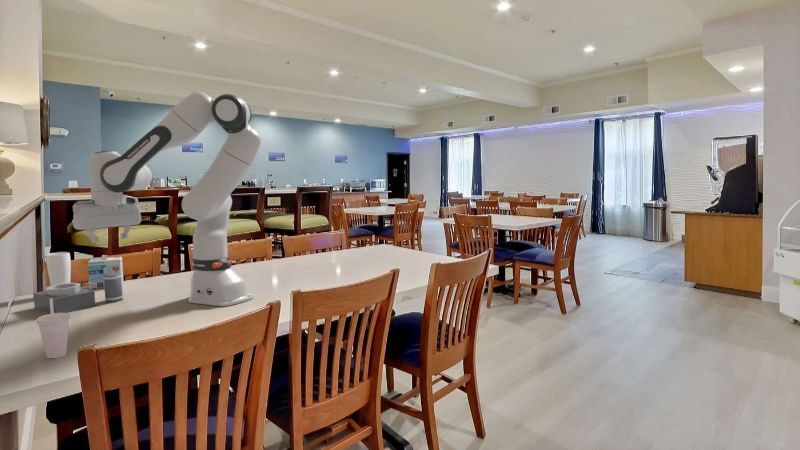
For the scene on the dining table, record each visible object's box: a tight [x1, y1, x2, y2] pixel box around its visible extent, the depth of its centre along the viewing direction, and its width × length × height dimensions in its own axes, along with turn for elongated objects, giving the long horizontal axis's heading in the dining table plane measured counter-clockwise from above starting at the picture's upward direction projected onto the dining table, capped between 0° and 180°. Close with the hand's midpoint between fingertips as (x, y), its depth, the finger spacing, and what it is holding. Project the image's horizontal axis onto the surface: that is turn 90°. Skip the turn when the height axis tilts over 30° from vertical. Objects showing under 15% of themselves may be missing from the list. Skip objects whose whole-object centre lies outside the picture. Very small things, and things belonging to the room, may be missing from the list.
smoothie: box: [35, 298, 71, 359], centre depth 103 cm, size 6×6×14 cm
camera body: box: [32, 282, 96, 314], centre depth 142 cm, size 14×11×7 cm
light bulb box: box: [87, 256, 125, 290], centre depth 169 cm, size 11×7×11 cm, turn 117°
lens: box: [104, 273, 124, 304], centre depth 149 cm, size 5×5×9 cm
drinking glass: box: [45, 251, 72, 286], centre depth 156 cm, size 7×7×15 cm
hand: (110, 240), depth 148 cm, fingers open, 8 cm apart
